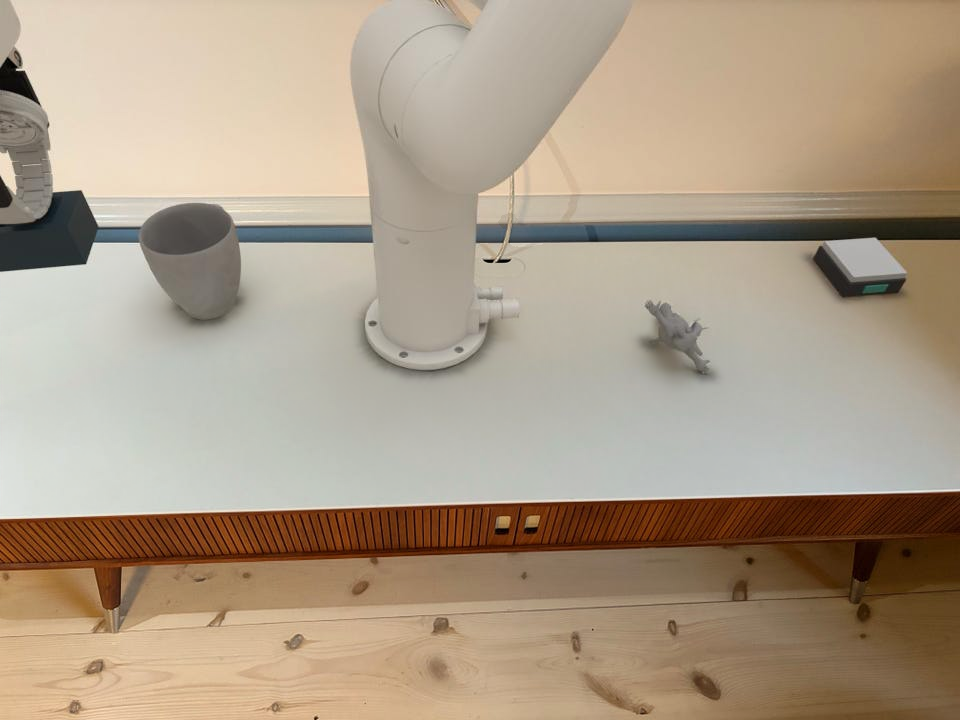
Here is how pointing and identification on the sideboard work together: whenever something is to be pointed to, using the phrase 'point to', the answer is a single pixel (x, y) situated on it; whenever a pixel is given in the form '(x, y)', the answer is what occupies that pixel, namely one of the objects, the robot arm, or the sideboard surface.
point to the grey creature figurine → (678, 332)
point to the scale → (860, 267)
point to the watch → (38, 197)
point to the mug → (194, 257)
